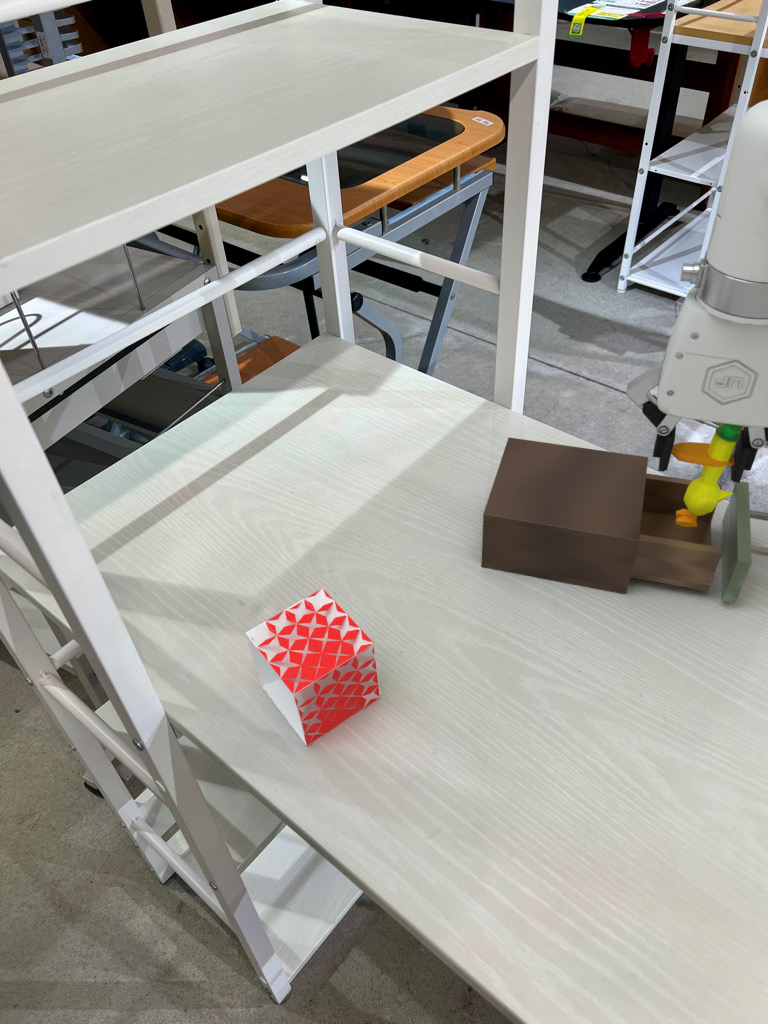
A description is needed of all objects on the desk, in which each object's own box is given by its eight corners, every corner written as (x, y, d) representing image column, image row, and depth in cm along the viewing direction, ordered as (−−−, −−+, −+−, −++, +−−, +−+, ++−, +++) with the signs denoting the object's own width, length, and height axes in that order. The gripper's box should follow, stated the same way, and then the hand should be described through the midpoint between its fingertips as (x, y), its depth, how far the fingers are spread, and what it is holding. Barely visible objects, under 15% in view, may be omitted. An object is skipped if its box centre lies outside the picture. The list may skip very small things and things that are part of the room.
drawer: (784, 531, 77) (802, 490, 73) (791, 614, 70) (812, 573, 66) (602, 502, 82) (610, 462, 78) (590, 577, 75) (598, 536, 71)
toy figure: (648, 526, 73) (683, 429, 64) (648, 502, 75) (681, 405, 67) (721, 538, 72) (765, 440, 63) (718, 513, 74) (760, 415, 66)
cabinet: (636, 510, 82) (648, 456, 77) (625, 594, 74) (639, 540, 69) (505, 489, 86) (508, 437, 81) (481, 566, 78) (483, 513, 73)
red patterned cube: (380, 696, 67) (374, 643, 62) (307, 747, 64) (293, 695, 58) (331, 641, 72) (321, 587, 66) (261, 685, 69) (244, 632, 63)
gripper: (630, 296, 56) (598, 478, 69) (887, 319, 52) (803, 510, 64) (638, 254, 61) (607, 430, 74) (873, 271, 57) (797, 456, 69)
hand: (698, 465), depth 69 cm, fingers closed on toy figure, 5 cm apart
